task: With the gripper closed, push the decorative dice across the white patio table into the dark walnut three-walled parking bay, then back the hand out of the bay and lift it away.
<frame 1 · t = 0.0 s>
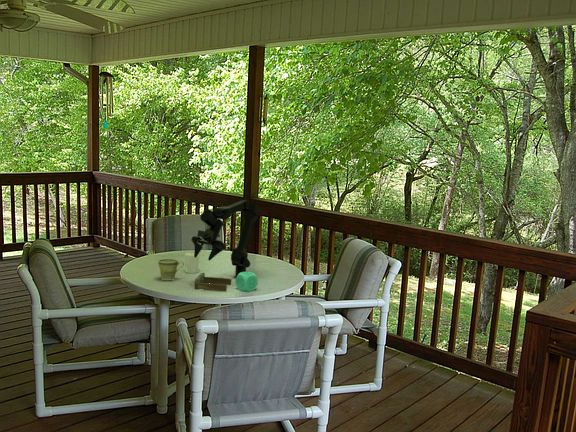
hand: (201, 258, 272), 15 cm above the table, tool tilted 35°, fingers open, 9 cm apart
white cup: (191, 272, 306), on the table
decorative dice: (246, 289, 276), on the table
ceramic cup: (170, 279, 287), on the table
parking bay: (213, 286, 278), on the table
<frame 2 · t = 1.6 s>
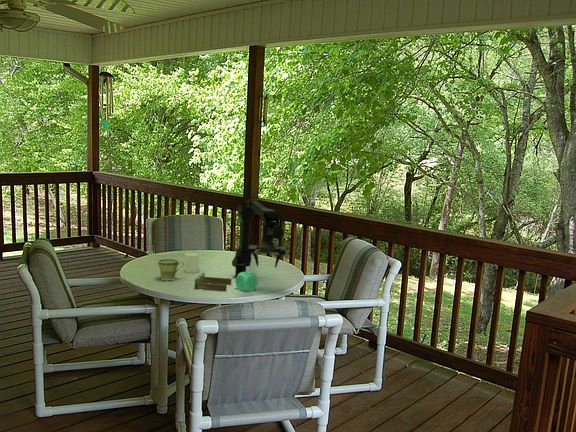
hand: (266, 266, 274), 12 cm above the table, tool pointing down, fingers open, 9 cm apart
nothing on the table moved.
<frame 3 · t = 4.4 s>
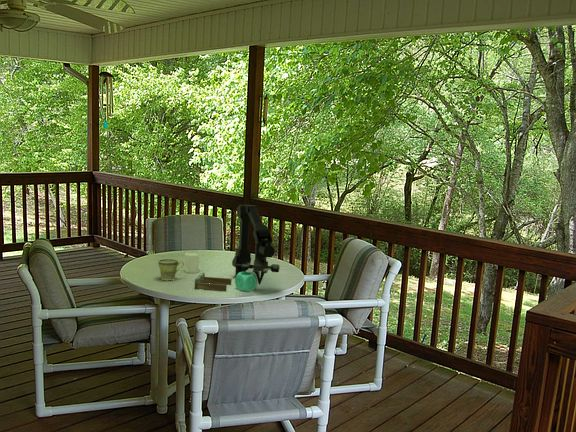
hand: (259, 284, 275), 3 cm above the table, tool pointing down, fingers closed
decorative dice: (245, 289, 276), on the table, touching gripper
everything else where it was.
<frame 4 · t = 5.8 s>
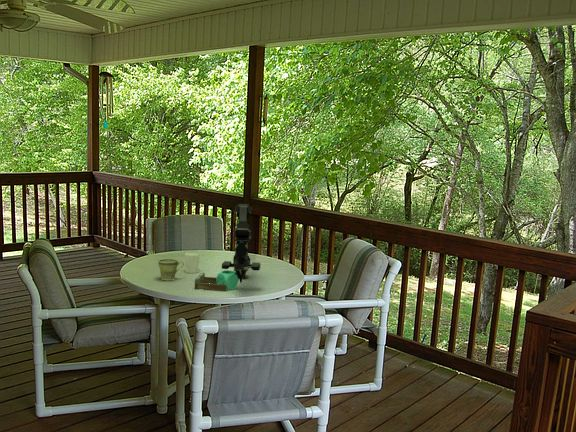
hand: (240, 282, 276), 3 cm above the table, tool pointing down, fingers closed
decorative dice: (227, 288, 277), on the table, touching gripper, parking bay
everything else where it was.
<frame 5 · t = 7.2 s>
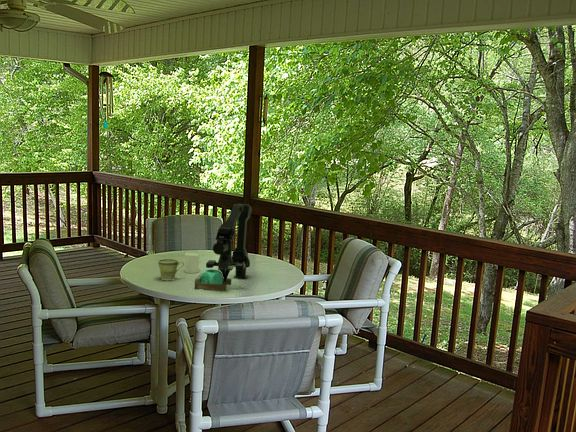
hand: (225, 281, 277), 3 cm above the table, tool pointing down, fingers closed
decorative dice: (211, 287, 277), on the table, touching gripper, parking bay
everything else where it was.
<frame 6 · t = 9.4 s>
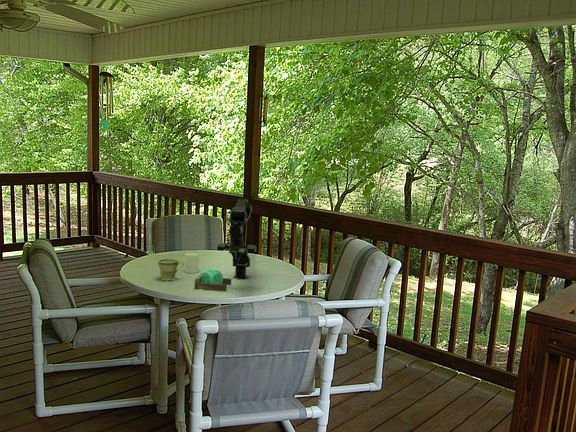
hand: (236, 264, 276), 12 cm above the table, tool pointing down, fingers closed
decorative dice: (211, 287, 277), on the table, touching parking bay
everything else where it was.
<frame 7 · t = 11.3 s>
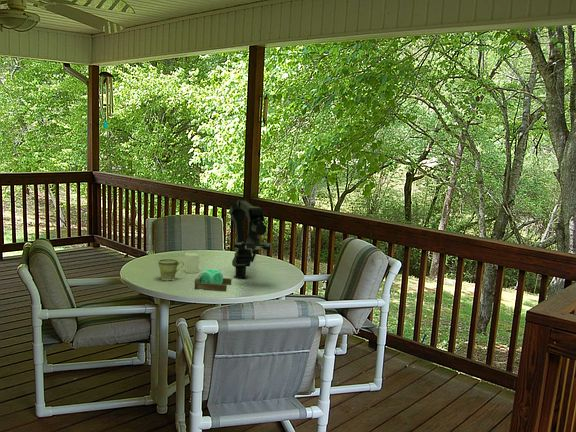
hand: (252, 261, 283), 12 cm above the table, tool pointing down, fingers closed
nothing on the table moved.
at the end: decorative dice inside the target area (0.5 cm from its centre), on the table; decorative dice tilted 0°; decorative dice moved 17.6 cm from its start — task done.
